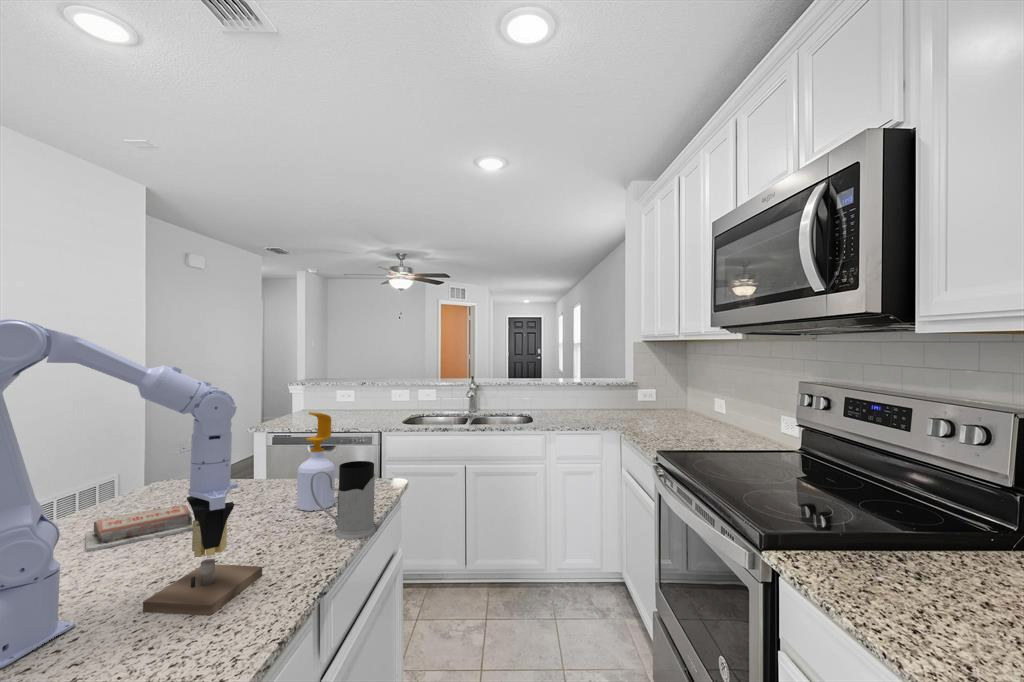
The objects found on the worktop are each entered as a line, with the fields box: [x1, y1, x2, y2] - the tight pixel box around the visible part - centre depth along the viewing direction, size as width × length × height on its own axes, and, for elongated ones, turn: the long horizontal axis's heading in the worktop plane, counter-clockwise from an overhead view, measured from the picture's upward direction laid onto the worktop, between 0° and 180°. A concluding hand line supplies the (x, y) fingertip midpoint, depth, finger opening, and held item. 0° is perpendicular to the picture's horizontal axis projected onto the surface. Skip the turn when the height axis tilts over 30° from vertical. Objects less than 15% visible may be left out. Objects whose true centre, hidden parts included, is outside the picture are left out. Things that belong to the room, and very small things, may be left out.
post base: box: [142, 558, 263, 616], centre depth 78 cm, size 13×11×5 cm
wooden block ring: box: [191, 519, 228, 558], centre depth 78 cm, size 5×5×5 cm
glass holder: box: [311, 460, 377, 540], centre depth 105 cm, size 9×14×15 cm, turn 99°
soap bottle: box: [296, 412, 336, 512], centre depth 122 cm, size 9×9×25 cm
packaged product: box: [84, 504, 193, 553], centre depth 102 cm, size 18×5×10 cm
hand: (208, 542), depth 78 cm, fingers closed on wooden block ring, 5 cm apart
